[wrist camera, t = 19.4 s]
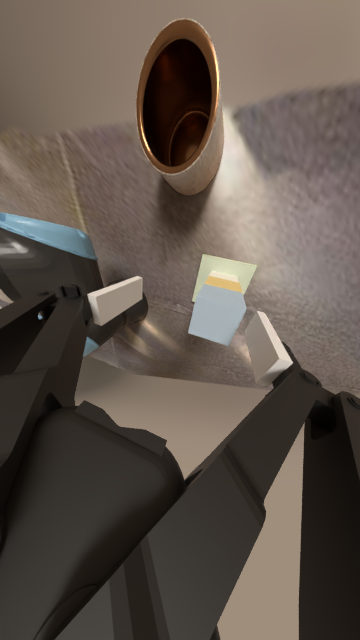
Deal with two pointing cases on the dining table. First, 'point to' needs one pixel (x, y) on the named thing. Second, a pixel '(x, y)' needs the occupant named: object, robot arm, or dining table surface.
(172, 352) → the dining table surface
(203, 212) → the dining table surface
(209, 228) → the dining table surface
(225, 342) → the blue brick
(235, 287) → the ochre brick
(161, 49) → the planter
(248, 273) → the baseplate
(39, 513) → the robot arm
